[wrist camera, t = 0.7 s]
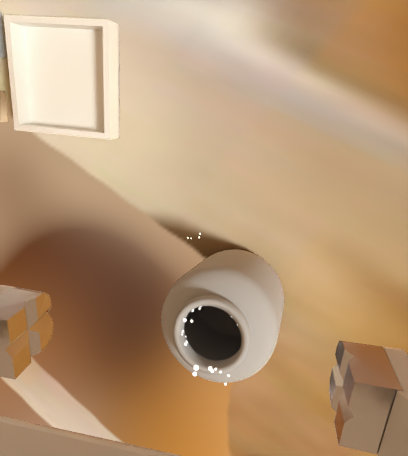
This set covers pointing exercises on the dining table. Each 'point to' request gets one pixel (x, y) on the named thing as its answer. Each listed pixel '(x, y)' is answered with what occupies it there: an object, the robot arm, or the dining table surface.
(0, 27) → the slate block
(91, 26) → the cream tray
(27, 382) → the dining table surface
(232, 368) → the jar
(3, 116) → the maple block
